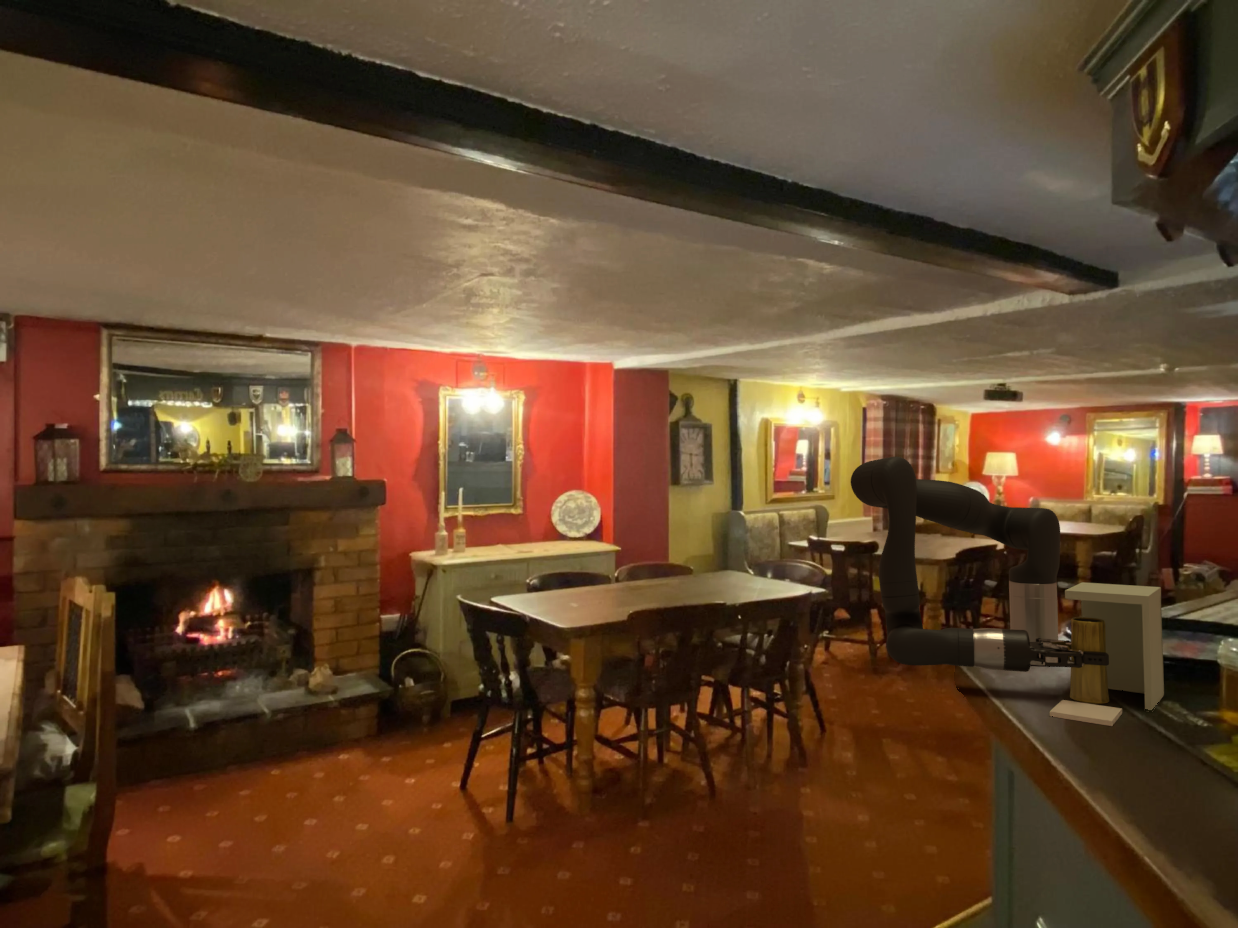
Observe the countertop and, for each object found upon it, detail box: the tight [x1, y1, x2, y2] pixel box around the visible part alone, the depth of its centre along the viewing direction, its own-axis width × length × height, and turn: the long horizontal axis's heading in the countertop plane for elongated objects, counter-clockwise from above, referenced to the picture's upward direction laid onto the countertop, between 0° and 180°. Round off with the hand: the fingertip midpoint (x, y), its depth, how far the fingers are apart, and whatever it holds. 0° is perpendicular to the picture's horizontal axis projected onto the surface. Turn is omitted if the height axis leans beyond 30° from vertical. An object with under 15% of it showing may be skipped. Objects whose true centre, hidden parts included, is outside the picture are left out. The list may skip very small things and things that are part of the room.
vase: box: [1069, 616, 1110, 705], centre depth 144 cm, size 6×6×14 cm
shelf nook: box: [1064, 581, 1165, 710], centre depth 146 cm, size 14×13×20 cm
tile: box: [1049, 699, 1123, 727], centre depth 135 cm, size 9×9×1 cm
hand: (1104, 655), depth 144 cm, fingers closed on vase, 5 cm apart
